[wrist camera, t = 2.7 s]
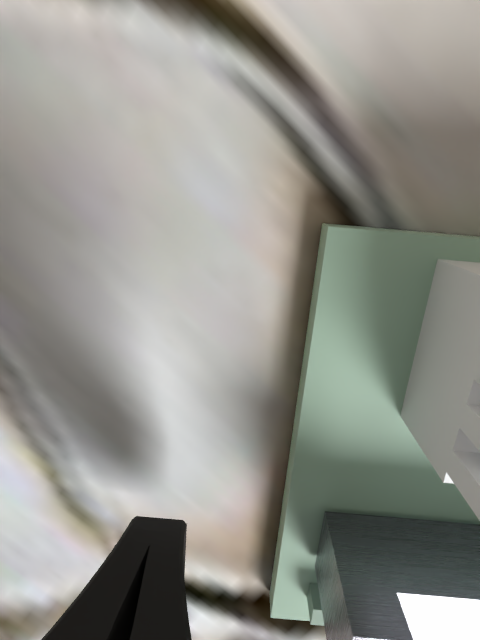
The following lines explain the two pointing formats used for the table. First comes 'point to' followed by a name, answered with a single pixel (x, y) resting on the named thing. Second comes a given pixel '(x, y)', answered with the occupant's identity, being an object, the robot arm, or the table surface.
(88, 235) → the table surface
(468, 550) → the bar
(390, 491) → the board
